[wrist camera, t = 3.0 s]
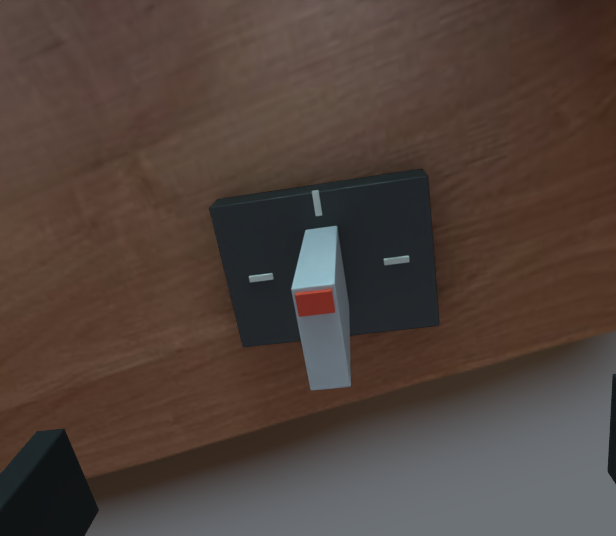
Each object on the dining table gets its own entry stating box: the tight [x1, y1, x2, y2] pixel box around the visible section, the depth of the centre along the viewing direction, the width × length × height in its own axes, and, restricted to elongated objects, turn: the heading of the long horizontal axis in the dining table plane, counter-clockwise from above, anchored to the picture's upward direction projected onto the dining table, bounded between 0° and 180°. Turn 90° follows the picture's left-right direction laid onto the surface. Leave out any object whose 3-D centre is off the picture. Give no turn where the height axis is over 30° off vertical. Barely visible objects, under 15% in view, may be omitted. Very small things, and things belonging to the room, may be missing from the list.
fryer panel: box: [209, 169, 439, 347], centre depth 29 cm, size 12×9×2 cm
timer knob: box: [291, 226, 351, 390], centre depth 25 cm, size 5×2×8 cm, turn 9°
